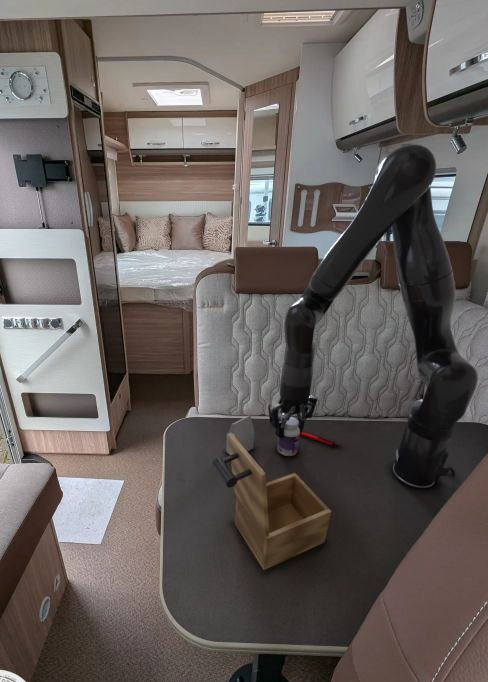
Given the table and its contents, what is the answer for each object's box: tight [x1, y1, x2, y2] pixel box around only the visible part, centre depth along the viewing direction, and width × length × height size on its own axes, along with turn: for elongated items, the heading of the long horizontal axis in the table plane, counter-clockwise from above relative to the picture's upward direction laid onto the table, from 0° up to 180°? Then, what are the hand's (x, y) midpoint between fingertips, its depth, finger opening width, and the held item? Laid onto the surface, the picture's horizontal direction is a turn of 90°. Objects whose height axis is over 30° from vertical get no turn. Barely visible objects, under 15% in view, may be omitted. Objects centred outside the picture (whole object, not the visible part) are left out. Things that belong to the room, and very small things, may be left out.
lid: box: [211, 433, 269, 537], centre depth 64 cm, size 15×12×6 cm
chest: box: [234, 472, 332, 571], centre depth 74 cm, size 15×12×9 cm
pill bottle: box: [276, 416, 301, 457], centre depth 97 cm, size 5×5×10 cm
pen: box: [299, 431, 339, 447], centre depth 105 cm, size 1×19×1 cm, turn 58°
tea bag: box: [225, 414, 255, 455], centre depth 97 cm, size 4×7×10 cm, turn 131°
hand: (289, 434), depth 97 cm, fingers closed on pill bottle, 5 cm apart
